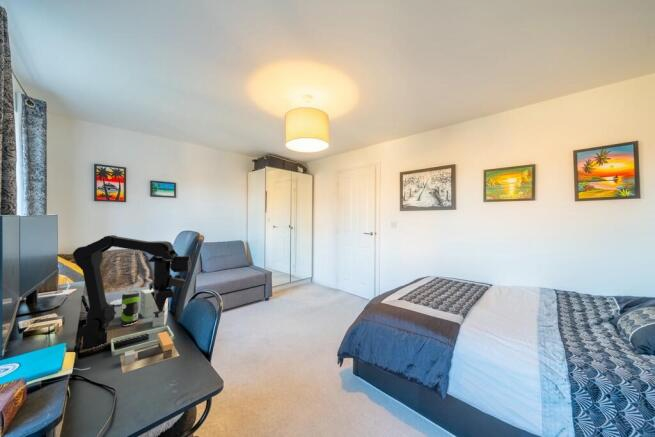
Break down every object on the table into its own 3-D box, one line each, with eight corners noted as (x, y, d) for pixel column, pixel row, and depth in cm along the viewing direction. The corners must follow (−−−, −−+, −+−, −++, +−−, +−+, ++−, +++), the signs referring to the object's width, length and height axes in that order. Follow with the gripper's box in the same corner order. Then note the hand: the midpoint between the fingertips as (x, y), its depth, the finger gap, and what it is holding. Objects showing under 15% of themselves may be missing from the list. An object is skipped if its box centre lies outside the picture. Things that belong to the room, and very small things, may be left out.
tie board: (122, 376, 78) (122, 365, 78) (119, 358, 87) (120, 348, 87) (179, 358, 89) (179, 348, 89) (171, 344, 98) (172, 335, 98)
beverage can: (136, 320, 119) (137, 289, 119) (138, 324, 115) (140, 292, 115) (119, 323, 114) (121, 292, 114) (121, 328, 110) (123, 295, 110)
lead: (124, 365, 82) (125, 356, 82) (124, 360, 84) (124, 352, 84) (172, 351, 92) (172, 343, 92) (170, 347, 94) (170, 339, 94)
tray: (111, 358, 87) (112, 351, 87) (110, 345, 96) (110, 338, 96) (174, 341, 100) (174, 335, 100) (167, 331, 109) (168, 325, 109)
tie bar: (163, 351, 86) (163, 345, 86) (157, 338, 95) (157, 333, 95) (173, 348, 88) (173, 343, 88) (166, 336, 97) (166, 331, 97)
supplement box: (156, 310, 132) (157, 287, 132) (160, 314, 127) (161, 290, 127) (139, 314, 126) (140, 290, 126) (143, 318, 121) (144, 293, 121)
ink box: (155, 320, 120) (156, 296, 120) (167, 318, 122) (168, 295, 122) (151, 327, 112) (152, 302, 112) (164, 326, 114) (165, 300, 114)
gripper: (190, 274, 99) (188, 312, 98) (179, 266, 112) (177, 300, 112) (156, 277, 91) (155, 319, 91) (149, 269, 104) (147, 305, 104)
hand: (160, 310), depth 100 cm, fingers closed
